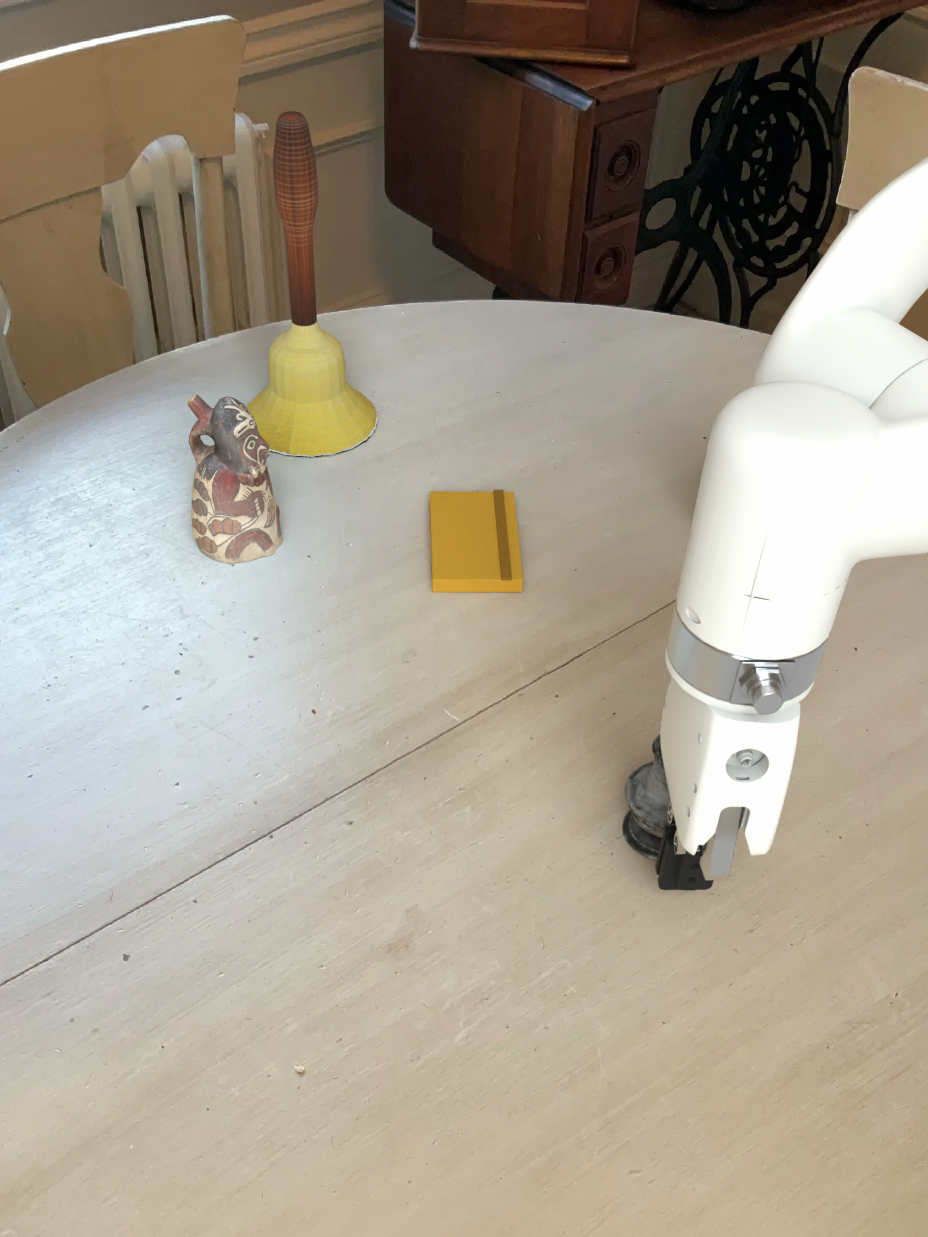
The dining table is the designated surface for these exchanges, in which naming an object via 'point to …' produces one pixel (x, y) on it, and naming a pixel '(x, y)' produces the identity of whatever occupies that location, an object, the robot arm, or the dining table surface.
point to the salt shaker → (647, 805)
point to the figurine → (231, 485)
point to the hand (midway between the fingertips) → (682, 879)
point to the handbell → (305, 325)
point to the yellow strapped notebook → (474, 542)
